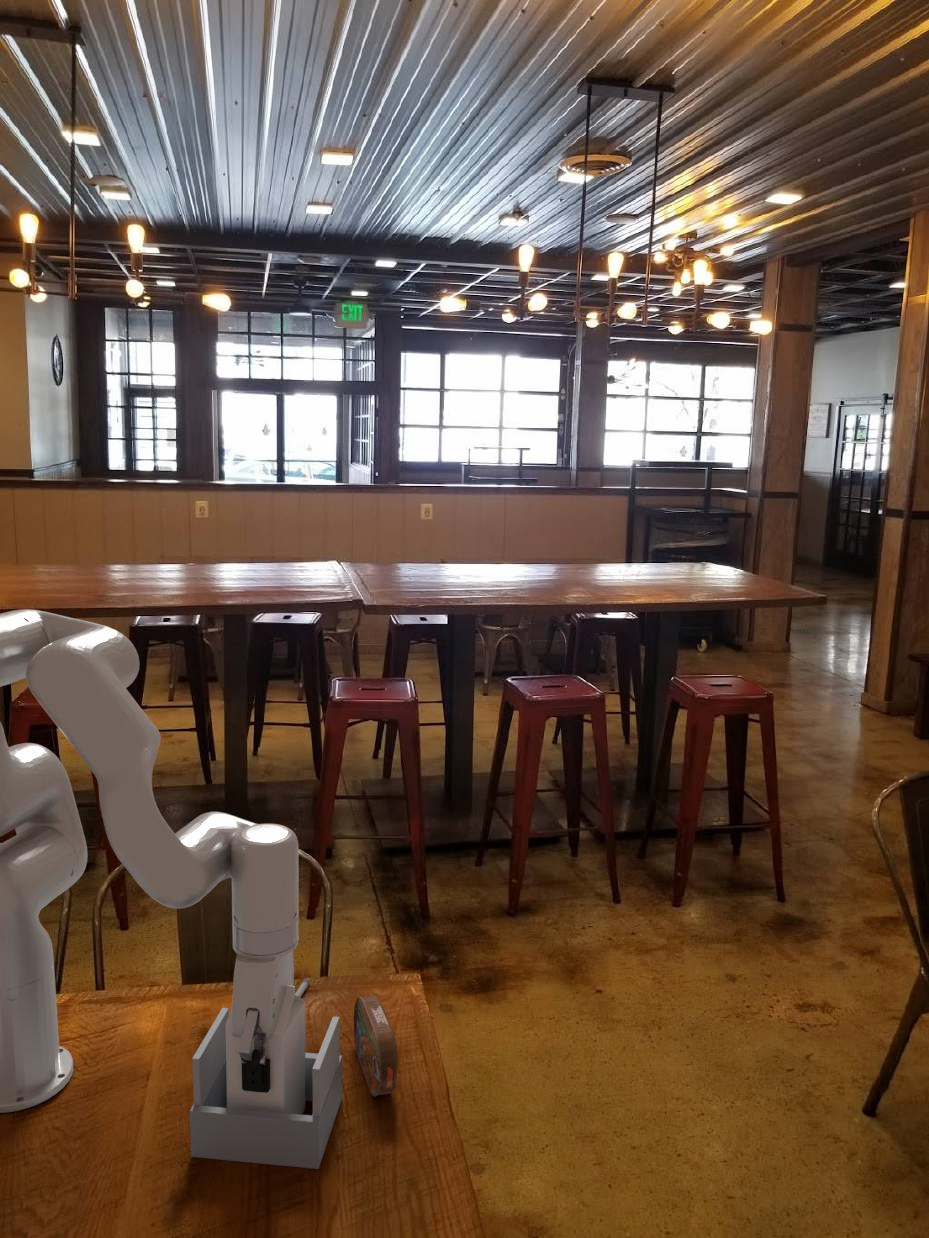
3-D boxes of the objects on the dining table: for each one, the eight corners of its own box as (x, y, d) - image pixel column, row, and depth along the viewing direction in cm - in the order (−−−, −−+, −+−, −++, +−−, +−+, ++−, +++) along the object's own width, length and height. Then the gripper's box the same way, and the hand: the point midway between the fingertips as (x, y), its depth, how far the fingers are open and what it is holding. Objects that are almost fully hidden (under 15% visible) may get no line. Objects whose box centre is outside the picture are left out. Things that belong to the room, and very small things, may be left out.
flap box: (191, 1156, 111) (188, 1063, 109) (226, 1087, 123) (224, 1002, 120) (318, 1168, 110) (318, 1075, 107) (342, 1098, 121) (341, 1012, 119)
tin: (351, 1039, 133) (351, 984, 132) (373, 1035, 134) (374, 980, 133) (376, 1111, 119) (376, 1051, 118) (400, 1106, 120) (401, 1046, 119)
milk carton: (283, 1150, 112) (283, 1003, 108) (227, 1140, 113) (224, 994, 110) (305, 1110, 119) (305, 970, 115) (251, 1100, 120) (250, 962, 117)
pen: (311, 984, 147) (311, 976, 146) (277, 1039, 133) (276, 1030, 133) (305, 983, 147) (305, 975, 147) (270, 1038, 133) (270, 1029, 133)
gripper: (257, 894, 120) (258, 1021, 124) (207, 969, 103) (210, 1114, 107) (316, 898, 120) (315, 1026, 123) (275, 975, 103) (276, 1121, 106)
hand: (266, 1066), depth 115 cm, fingers closed on milk carton, 7 cm apart
